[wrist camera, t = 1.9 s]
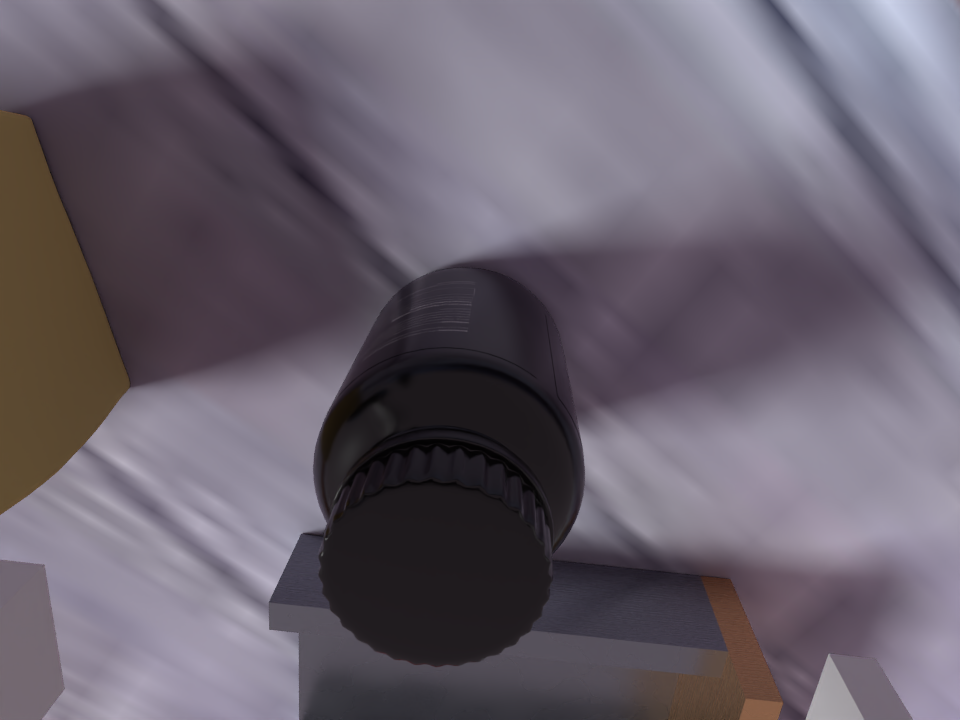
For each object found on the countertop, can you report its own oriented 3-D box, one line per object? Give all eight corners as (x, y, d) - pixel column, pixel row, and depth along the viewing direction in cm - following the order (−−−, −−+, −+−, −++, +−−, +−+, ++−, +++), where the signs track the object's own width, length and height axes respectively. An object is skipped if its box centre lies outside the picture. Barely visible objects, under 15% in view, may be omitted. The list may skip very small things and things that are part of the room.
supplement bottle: (356, 416, 26) (238, 665, 15) (393, 240, 24) (284, 382, 13) (534, 460, 27) (547, 735, 16) (589, 291, 24) (652, 475, 13)
